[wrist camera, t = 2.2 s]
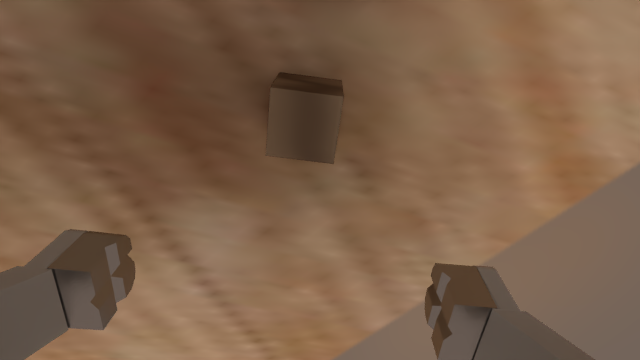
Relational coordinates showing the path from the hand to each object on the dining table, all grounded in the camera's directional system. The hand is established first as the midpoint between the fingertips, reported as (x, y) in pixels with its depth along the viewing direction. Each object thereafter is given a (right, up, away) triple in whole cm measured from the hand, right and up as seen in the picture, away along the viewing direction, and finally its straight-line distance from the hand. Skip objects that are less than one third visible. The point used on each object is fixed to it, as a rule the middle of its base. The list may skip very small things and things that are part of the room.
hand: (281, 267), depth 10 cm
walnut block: (0, +8, +19) cm, 20 cm away
